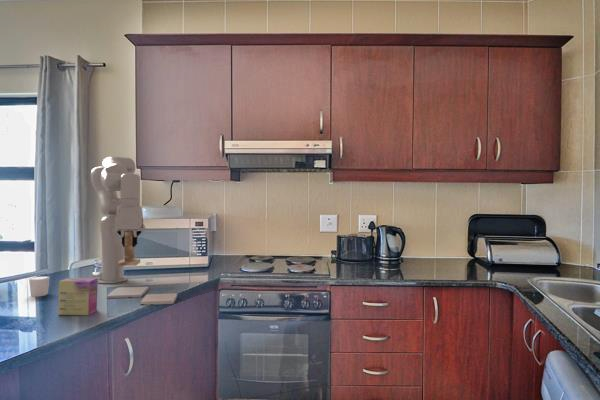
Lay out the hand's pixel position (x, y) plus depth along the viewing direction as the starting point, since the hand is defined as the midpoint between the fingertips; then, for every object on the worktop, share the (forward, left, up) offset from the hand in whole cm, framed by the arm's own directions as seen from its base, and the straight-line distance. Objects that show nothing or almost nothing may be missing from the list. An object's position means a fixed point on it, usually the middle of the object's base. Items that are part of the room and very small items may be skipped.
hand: (129, 245), depth 149 cm
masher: (0, 0, -8) cm, 8 cm away
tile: (+9, -12, -20) cm, 25 cm away
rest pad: (0, 0, -20) cm, 20 cm away
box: (-10, -24, -21) cm, 33 cm away
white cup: (-35, +2, -21) cm, 41 cm away
